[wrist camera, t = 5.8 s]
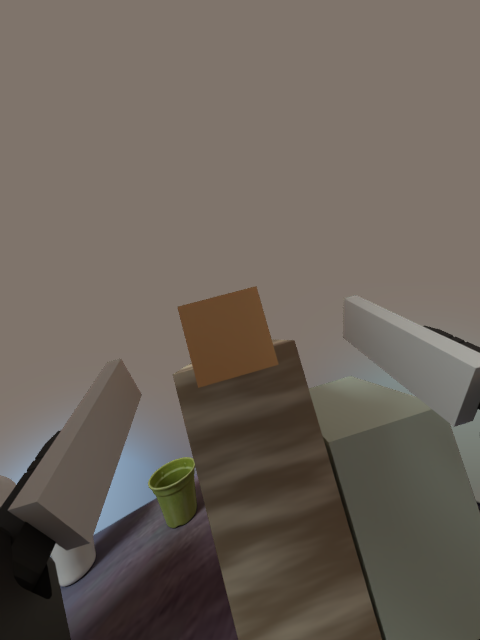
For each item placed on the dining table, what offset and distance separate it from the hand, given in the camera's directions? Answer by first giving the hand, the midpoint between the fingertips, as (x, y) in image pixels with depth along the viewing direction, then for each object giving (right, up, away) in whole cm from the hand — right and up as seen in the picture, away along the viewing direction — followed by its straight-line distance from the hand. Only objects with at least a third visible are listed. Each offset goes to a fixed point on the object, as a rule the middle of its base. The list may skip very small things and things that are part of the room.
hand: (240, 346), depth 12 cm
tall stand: (+7, -31, +13) cm, 35 cm away
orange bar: (-1, -2, +10) cm, 10 cm away
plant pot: (-12, -38, +30) cm, 50 cm away
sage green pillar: (+19, -28, +14) cm, 37 cm away
